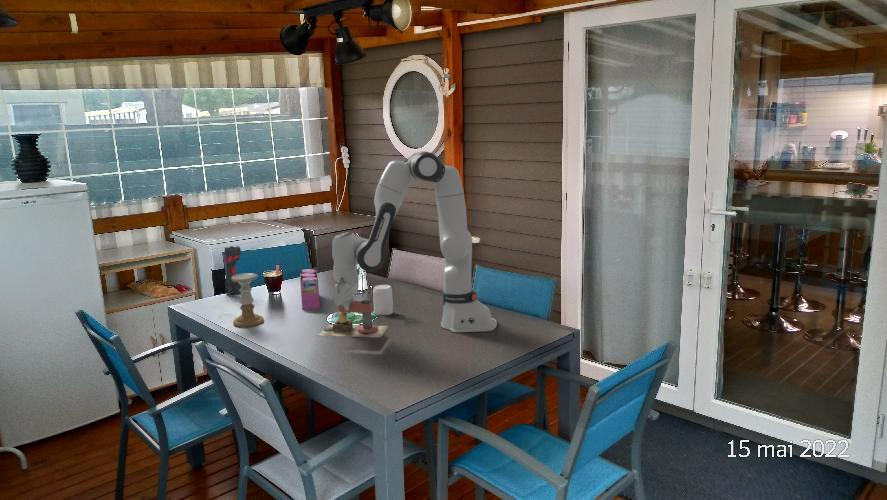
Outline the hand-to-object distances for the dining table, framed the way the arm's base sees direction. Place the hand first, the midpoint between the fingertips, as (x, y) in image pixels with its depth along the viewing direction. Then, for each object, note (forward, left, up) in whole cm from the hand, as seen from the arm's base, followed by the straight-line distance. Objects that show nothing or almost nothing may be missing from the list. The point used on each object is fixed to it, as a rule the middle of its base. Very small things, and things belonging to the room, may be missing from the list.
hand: (347, 309), depth 248 cm
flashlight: (+74, -54, -10) cm, 92 cm away
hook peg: (+3, -2, -9) cm, 10 cm away
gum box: (+31, -42, -11) cm, 54 cm away
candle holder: (+47, -11, -10) cm, 49 cm away
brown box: (+3, -2, -9) cm, 10 cm away
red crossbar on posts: (-3, -2, -9) cm, 10 cm away
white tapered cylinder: (-7, -27, -10) cm, 30 cm away
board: (-1, -2, -10) cm, 11 cm away
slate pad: (+9, -2, -9) cm, 13 cm away
